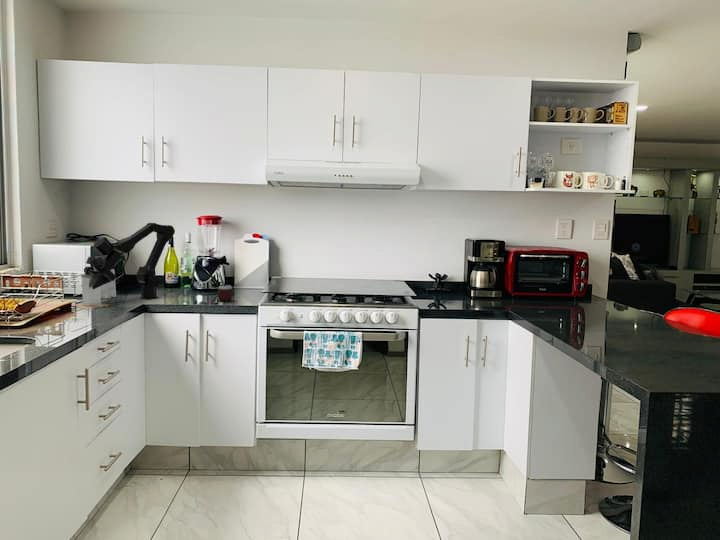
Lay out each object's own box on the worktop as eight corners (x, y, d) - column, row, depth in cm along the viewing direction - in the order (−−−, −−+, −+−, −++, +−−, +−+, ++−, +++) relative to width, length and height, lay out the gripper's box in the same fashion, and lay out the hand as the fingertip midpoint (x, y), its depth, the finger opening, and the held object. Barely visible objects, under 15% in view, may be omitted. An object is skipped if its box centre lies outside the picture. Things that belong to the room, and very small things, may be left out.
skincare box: (116, 297, 275) (115, 266, 274) (107, 299, 269) (106, 267, 267) (102, 296, 277) (101, 265, 276) (93, 298, 271) (92, 267, 269)
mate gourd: (234, 302, 267) (234, 271, 265) (218, 303, 263) (217, 272, 262) (230, 299, 273) (230, 270, 272) (214, 300, 270) (214, 270, 268)
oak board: (96, 304, 258) (96, 302, 258) (111, 307, 251) (110, 305, 251) (71, 307, 248) (71, 305, 248) (85, 310, 242) (85, 308, 241)
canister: (94, 303, 254) (93, 273, 253) (101, 305, 251) (100, 274, 249) (82, 305, 249) (81, 274, 248) (89, 306, 246) (88, 276, 245)
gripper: (86, 249, 255) (63, 274, 248) (108, 251, 245) (85, 278, 237) (103, 264, 263) (81, 289, 255) (125, 267, 252) (103, 293, 244)
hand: (87, 287), depth 248 cm, fingers open, 9 cm apart
